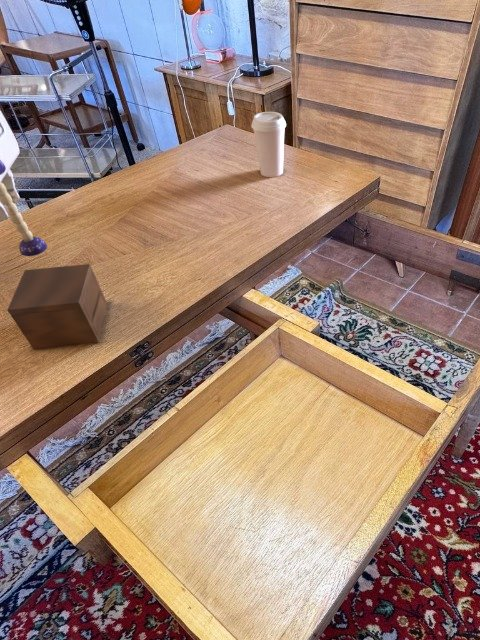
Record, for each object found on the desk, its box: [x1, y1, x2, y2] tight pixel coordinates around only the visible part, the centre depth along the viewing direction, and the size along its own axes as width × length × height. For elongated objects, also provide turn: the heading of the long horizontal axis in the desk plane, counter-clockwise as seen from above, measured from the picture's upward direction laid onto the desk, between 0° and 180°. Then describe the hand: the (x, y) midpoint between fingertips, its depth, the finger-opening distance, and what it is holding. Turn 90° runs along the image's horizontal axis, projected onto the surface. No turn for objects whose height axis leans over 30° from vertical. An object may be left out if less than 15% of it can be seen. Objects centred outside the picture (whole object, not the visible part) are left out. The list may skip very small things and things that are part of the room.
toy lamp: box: [0, 160, 48, 257], centre depth 68 cm, size 5×5×17 cm
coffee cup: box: [251, 111, 287, 178], centre depth 125 cm, size 10×10×15 cm
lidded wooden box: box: [6, 263, 108, 350], centre depth 84 cm, size 12×12×10 cm
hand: (9, 209), depth 69 cm, fingers closed on toy lamp, 4 cm apart
